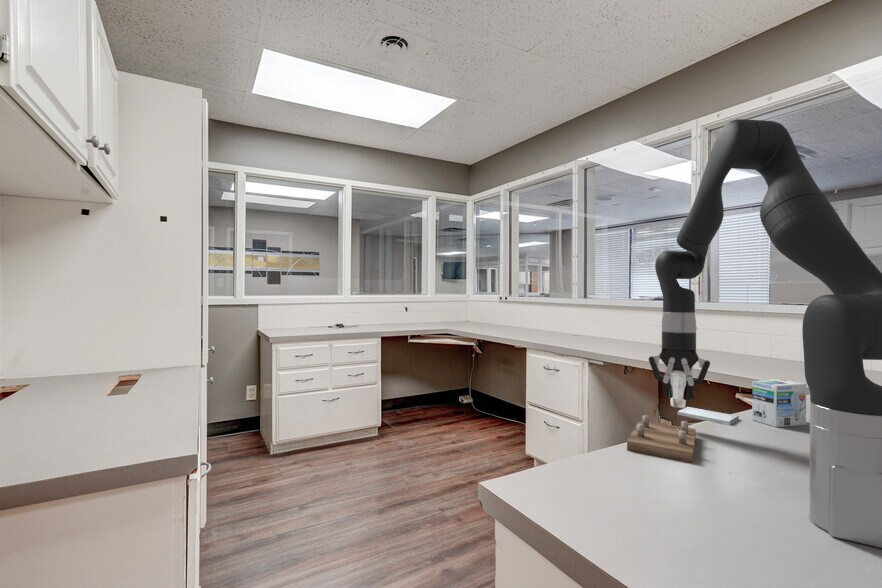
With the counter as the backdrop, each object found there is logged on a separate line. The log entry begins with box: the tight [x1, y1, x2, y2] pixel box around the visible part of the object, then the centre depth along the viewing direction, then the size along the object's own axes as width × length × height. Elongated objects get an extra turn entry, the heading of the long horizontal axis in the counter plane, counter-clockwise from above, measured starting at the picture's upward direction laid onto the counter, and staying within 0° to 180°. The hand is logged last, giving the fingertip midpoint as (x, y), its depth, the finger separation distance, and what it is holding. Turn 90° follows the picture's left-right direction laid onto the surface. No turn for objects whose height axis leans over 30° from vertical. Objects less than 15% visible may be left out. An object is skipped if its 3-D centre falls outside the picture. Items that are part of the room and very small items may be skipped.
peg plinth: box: [626, 414, 697, 464], centre depth 94 cm, size 18×12×4 cm, turn 147°
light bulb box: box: [751, 378, 807, 428], centre depth 111 cm, size 11×7×11 cm, turn 105°
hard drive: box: [677, 406, 740, 426], centre depth 116 cm, size 2×8×12 cm
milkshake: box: [669, 367, 693, 409], centre depth 105 cm, size 5×5×10 cm
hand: (678, 398), depth 105 cm, fingers closed on milkshake, 4 cm apart
